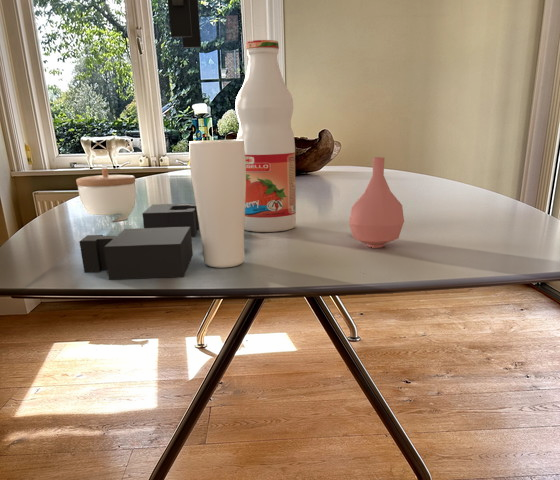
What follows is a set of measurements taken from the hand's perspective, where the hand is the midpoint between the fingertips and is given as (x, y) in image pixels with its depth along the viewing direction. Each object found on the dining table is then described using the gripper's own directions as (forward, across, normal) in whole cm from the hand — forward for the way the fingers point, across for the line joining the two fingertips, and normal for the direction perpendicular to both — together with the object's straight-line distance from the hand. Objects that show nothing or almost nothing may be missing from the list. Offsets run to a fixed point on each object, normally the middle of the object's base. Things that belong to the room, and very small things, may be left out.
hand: (187, 42), depth 85 cm
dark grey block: (+27, +5, +6) cm, 28 cm away
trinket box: (+28, +21, +20) cm, 40 cm away
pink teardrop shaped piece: (+28, -12, -26) cm, 40 cm away
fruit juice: (+28, +6, -10) cm, 30 cm away
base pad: (+27, -20, +7) cm, 35 cm away
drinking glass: (+28, -20, -4) cm, 34 cm away
